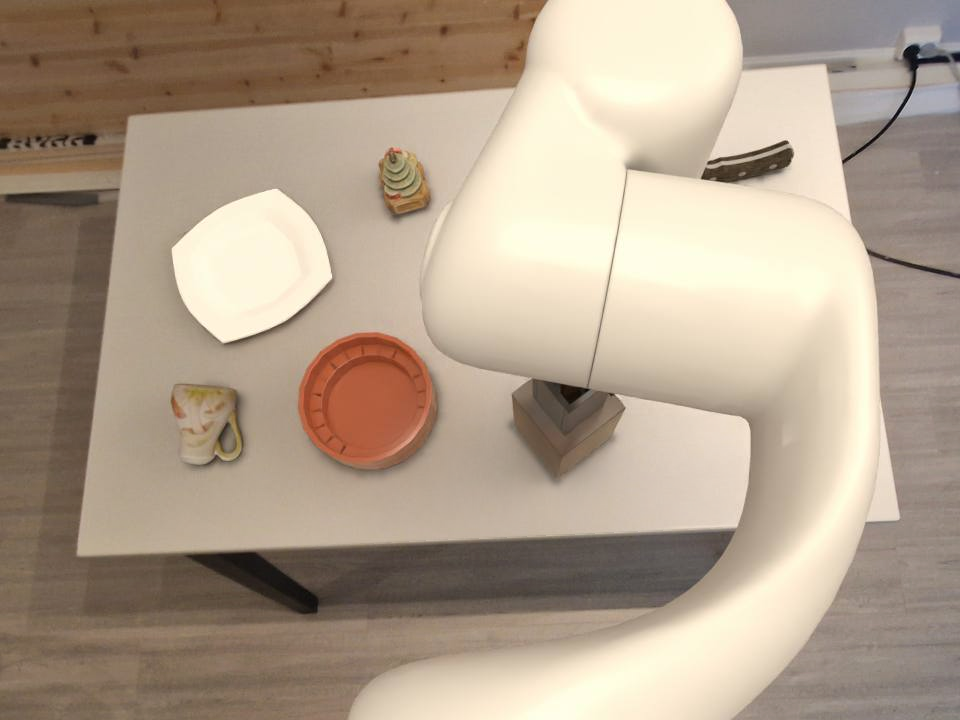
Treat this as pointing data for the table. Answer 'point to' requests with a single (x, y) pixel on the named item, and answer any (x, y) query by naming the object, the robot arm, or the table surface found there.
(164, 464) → the table surface
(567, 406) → the utensil stand
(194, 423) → the mug
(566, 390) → the stick
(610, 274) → the robot arm
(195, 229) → the plate
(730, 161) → the knife
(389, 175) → the ornament
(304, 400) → the bowl
